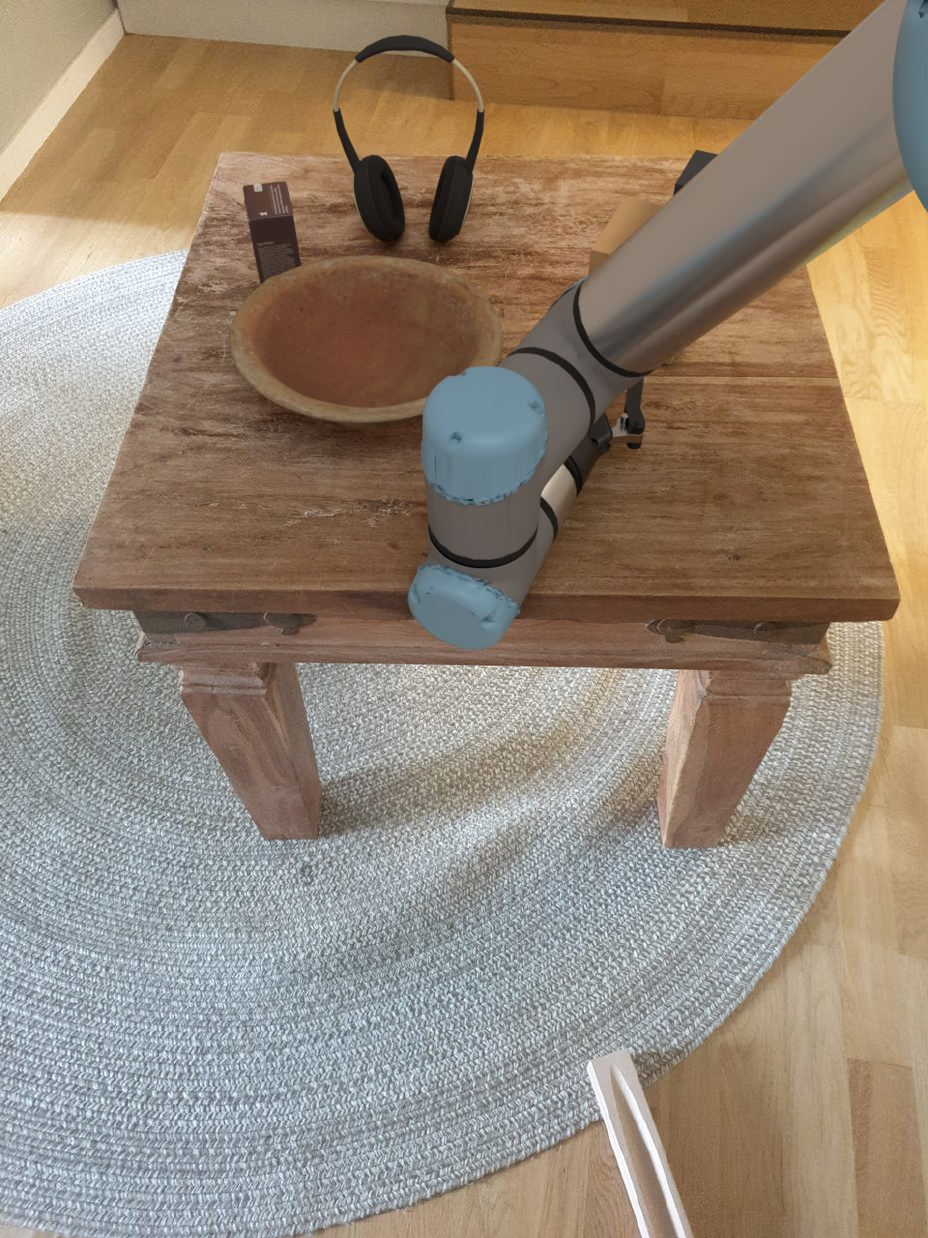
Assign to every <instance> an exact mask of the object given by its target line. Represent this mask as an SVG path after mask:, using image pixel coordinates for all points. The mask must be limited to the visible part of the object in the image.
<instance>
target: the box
mask: <svg viewBox="0 0 928 1238" xmlns="http://www.w3.org/2000/svg"><path fill="white" fill-rule="evenodd" d="M242 194H243V198H244V199H243V203H244V206H245V212H246V217H247V223H248V227H249V233H250V238H251V240H250V241H251V244H252V249H253V255H254V260H255V265H256V268H257V269H256V270H257V274H258V280H259V286H260V285H261V284H262V283H263V282H264V281H266V280H267V279H268V278H270V277H273V276H277V275H279V274H281V273H283V272H286V271H288V270H290V269H293V268H295V267H298V266H301V265H302V261H301V255H300V249H299V243H298V237H297V231H296V230H297V229H296V223H295V218H294V211H293V209H294V208H293V204H292V201H291V196H290V191H289V187H288V183H287V181H285V180H284V181H273V182H272V181H271V182H263V183H254V184H247V185H246V184H245V185H243V186H242Z"/></svg>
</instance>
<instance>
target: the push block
mask: <svg viewBox="0 0 928 1238" xmlns="http://www.w3.org/2000/svg"><path fill="white" fill-rule="evenodd" d="M662 206H663V205H661V204H657V203H653V202H649V201H644V200H640V199H636V198H632V197H627V196H624V197H623V198H622V200H621V202H620V203H619V205H618V206H617V208H616V210H615V211H614V213H613V214H612V216H611V218H610V219H609V221H608V223H606V225H605V227H604V229H603V230H602V232H601V233H600V235H599V236H598V238H597V240H596V241H595V243H594V244H593V246H592V247H591V250H590V255H589V256H590V257H589V266H588V275H589V274H590V273H591V272H592V271H593V270H594V269H595V268H596V267H597V266H598V265H599V264H600V263H601V262H602V261H604V260H605V259H606V258H607V257H608V256H609V255H610V254H611V253H612V252H613V251H614V250H615V249H617V248H618V247H619V246H620V245H621V244H622V243H623V242H624V241H625V240H626V239H627V238H628V237H630V236H631V235H632V234H633V233H634V232H635V231H636V230H637V229H638V228H639V227H640V226H641V225H642V224H644V223H645V222H646V221H647V220H648V219H649V218H650V217H651V216H652V215H653V214H654V213H655V212H657V211H658V210H659V209H660V208H661V207H662ZM675 357H676V355H675V356H673V357H672V358H670V359H669V360H667V361H666V362H665V363H663V365H667V366H671V365H672V363H673V361H674V359H675Z"/></svg>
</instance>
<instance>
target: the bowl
mask: <svg viewBox="0 0 928 1238" xmlns="http://www.w3.org/2000/svg"><path fill="white" fill-rule="evenodd" d="M228 342H229V344H228V345H229V351H230V356H231V359H232V361H233V363H234V365H235V368H236V369H237V371H238V373H239V374H240V376H241V377H242V378H243V380H244V381H245V382H246V383H247V384H248V385H249V386H250V387H252V388H253V390H255V391H256V392H258V393H259V394H260V395H262V396H263V397H264V398H265V399H268V400H269V401H270V402H273V403H275V404H277V405H278V406H280V407H282V408H285V409H287V410H289V411H293V412H294V413H297V414H300V415H303V416H306V417H309V418H314V419H317V420H322V421H327V422H329V423H331V424H332V423H333V424H338V425H342V426H345V427H350V428H352V427H353V428H364V429H386V428H393V427H398V426H401V425H402V426H403V425H405V424H409V423H412V422H415V421H418V420H421V419H423V410H424V406H425V403H426V400H427V398H428V396H429V394H430V393H431V391H432V390H433V389H434V387H435V386H436V385H437V384H438V383H440V382H441V381H442V380H443V379H445V378H446V377H448V376H457V375H459V374H462V373H463V372H464V371H465V369H467V368H471V367H478V366H494V367H497V366H498V365H499V364H500V360H501V358H502V354H503V350H504V335H503V329H502V324H501V319H500V316H499V315H498V313H497V311H496V310H495V308H494V307H493V304H492V303H491V301H490V300H489V298H487V297H486V296H485V294H483V292H481V290H479V289H478V288H477V287H475V286H474V285H473V284H471V283H470V282H468V281H467V280H465V279H463V278H461V276H459V275H457V274H454V273H453V272H450V271H448V270H446V269H444V268H443V267H441V266H439V265H438V264H437V265H436V264H434V263H431V262H428V261H427V262H426V261H421V260H417V259H413V258H403V257H395V256H394V257H393V256H387V255H346V256H336V257H330V258H325V259H319V260H316V261H312V262H307V263H305V264H301V266H298V267H295V268H293V269H290V270H288V271H286V272H283V273H281V274H279V275H277V276H273V277H270V278H268V279H267V280H266V281H264V282H263V283H262V284H261V285H260V284H259V286H258V287H257V288H256V289H255V290H253V291H252V292H251V293H250V294H249V295H248V296H247V297H246V298H245V300H243V302H242V303H241V304H240V305H239V307H238V309H237V311H236V312H235V315H234V316H233V317H232V320H231V324H230V327H229V333H228Z"/></svg>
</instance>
